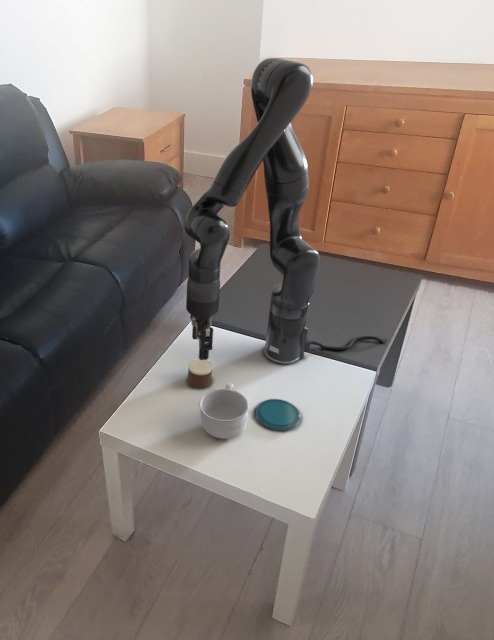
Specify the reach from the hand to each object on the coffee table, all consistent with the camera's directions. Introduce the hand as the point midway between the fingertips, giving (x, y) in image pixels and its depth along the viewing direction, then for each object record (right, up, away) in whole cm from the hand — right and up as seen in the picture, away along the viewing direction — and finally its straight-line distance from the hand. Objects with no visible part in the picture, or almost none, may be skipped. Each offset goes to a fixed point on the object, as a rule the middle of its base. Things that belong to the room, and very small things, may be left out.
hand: (200, 348), depth 146 cm
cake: (+1, -9, +6) cm, 11 cm away
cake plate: (+17, -16, -6) cm, 24 cm away
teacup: (+4, -18, -7) cm, 20 cm away
